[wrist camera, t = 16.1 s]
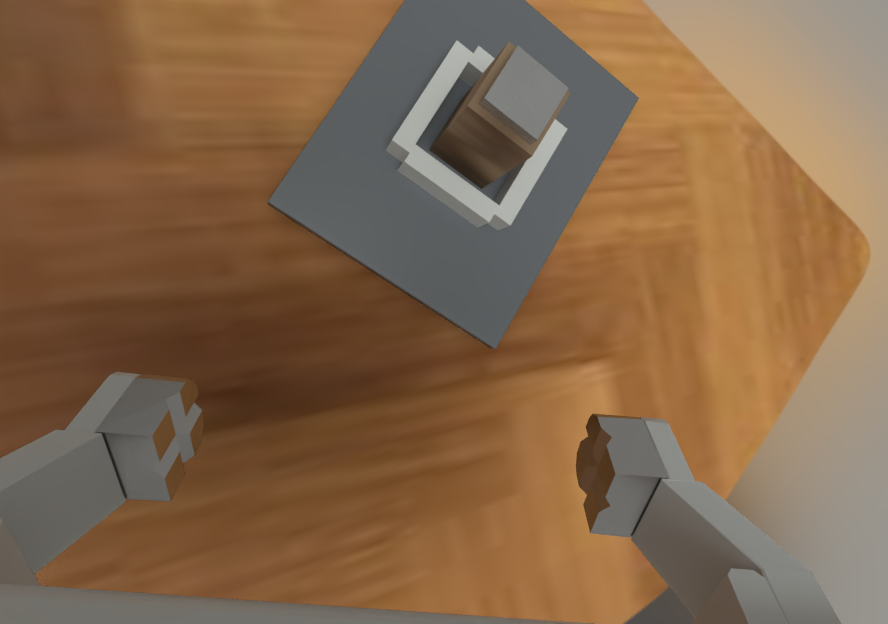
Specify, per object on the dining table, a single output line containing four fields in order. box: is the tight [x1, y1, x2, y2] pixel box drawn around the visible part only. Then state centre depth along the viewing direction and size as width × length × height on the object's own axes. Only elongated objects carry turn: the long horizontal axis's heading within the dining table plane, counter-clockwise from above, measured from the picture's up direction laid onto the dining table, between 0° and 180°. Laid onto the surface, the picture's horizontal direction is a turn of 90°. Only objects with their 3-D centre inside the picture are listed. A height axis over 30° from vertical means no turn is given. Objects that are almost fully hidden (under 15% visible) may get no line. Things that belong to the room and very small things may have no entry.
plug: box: [429, 42, 570, 189], centre depth 30 cm, size 4×4×8 cm
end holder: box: [268, 0, 639, 349], centre depth 33 cm, size 16×20×3 cm
